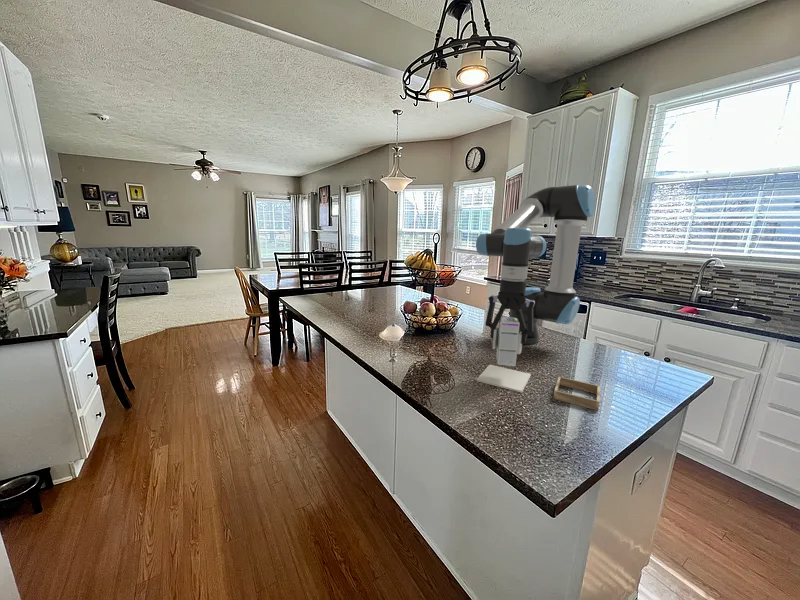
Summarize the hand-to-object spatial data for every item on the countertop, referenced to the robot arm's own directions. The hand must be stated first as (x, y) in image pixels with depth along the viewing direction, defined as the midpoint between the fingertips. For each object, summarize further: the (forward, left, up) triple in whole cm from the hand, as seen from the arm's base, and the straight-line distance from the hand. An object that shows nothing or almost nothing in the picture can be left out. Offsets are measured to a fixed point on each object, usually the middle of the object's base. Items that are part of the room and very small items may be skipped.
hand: (506, 350), depth 105 cm
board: (0, 0, -10) cm, 10 cm away
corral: (0, +21, -10) cm, 23 cm away
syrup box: (0, 0, -4) cm, 4 cm away
